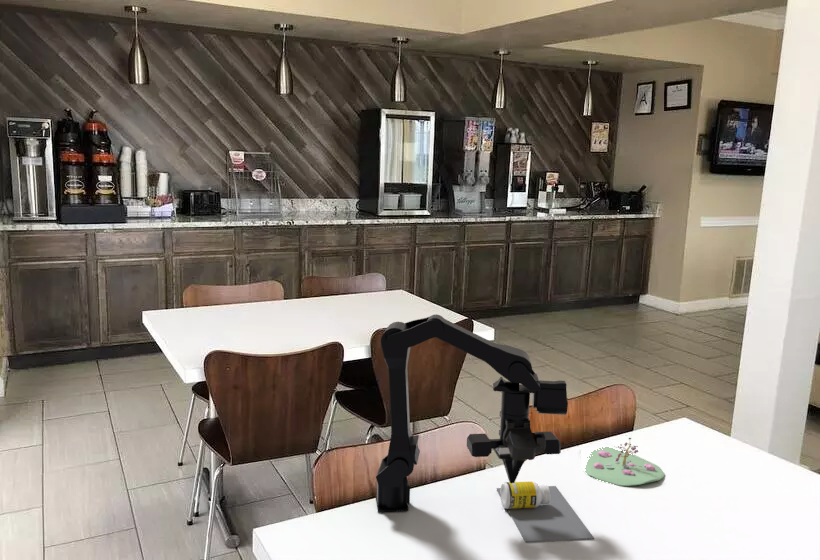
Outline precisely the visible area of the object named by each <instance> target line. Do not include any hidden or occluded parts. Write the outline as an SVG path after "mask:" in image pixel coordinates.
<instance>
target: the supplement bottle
mask: <svg viewBox="0 0 820 560" xmlns="http://www.w3.org/2000/svg"><path fill="white" fill-rule="evenodd" d="M548 486H549V485H548V484H539V485H538V482H536V481H515V482H514V483H510V482H509V481H508V482H507V481H505V482H502V484H500V488H501V490H500V495H501V497H500V501H501V502H500V503H501V505H502V507H503V508H504V509H506V510H507V509H514V508H536V507H538V506H539V504H540V503H541V504H549V502H550V490H549V487H548ZM500 495H499V496H500Z"/></svg>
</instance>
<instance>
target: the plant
mask: <svg viewBox="0 0 820 560" xmlns="http://www.w3.org/2000/svg"><path fill="white" fill-rule="evenodd" d="M628 440H632V437H628ZM627 446H628V447H627ZM625 447H627V448H625ZM617 448H619V449H621V450H622V451H618V450H615V449H613V448H609V447H605V448H603V447H602V449H603V450H602V449H601V448H599V449H600V450H598V449H597V451H596V450H594V451H593V452H591V453H592V454H590V455H591V457H590V456H589V458H590V459H589V460H588V462H587V465H586V468H585V469H586V471H585V472H586V473H587V474H588V475H587V474H586V473H585V472H584V473H585V474H586V475H587V476H589V477H591V476H592V477H593V478H592V477H591V478H592V479H594V478H595V479H594V480H596V479H598V480H597V481H599V480H601V481H600V482H602V481H604V482H603V483H606V482H608V483H607V484H610V483H611V484H610V485H613V484H614V486H619V487H628V486H629V487H630V486H638V485H639V486H640V485H644V484H648V483H653V482H658V481H661V480H662V479H664V477H665V472H664V471H663V469H662V468H661V467H660V466H659V465H657V464H655V463H653V462H651V461H649V460H646V459H645V458H642V457H640V456H638V455H635V454H637V453H639V450H638V449H637V448H638V445H633V446H632V444H631V443H628V442H625V443H624V446H623V444H622V443H621V444H620V446H617ZM622 448H623V449H622ZM630 449H631V450H630ZM623 450H624V451H626V452H625V453H624V452H623ZM629 453H631V454H632V455H631V454H629ZM633 454H634V455H633ZM592 455H593V456H592ZM587 458H588V457H587Z"/></svg>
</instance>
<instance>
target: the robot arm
mask: <svg viewBox="0 0 820 560" xmlns="http://www.w3.org/2000/svg"><path fill="white" fill-rule="evenodd" d="M434 338H436V339H438V340H440V341H442V342H444V343H446V344H449V345H451V346H452V347H454V348H456V349H458V350H460V351H462V352H464V353H466V354H468V355H471V356H473V357H474V358H476V359H479V360H480V361H483V362H484V363H486V364H487V365H488V366H489V367H491V368H492V369H493V370H494V371H495V372H496V373H498V374H499V375H500V377H499V378H498V379H497V380H495V381H494V382H493V383H492V390H493V392H501V401H500V402H501V403H500V405H501V406H500V411H499V417H500V423H499V424H500V426H499V430H498V436H499V438H492V439H491V438H489V437H488V435H487V434H486V433H469V435H468V436H467V437H466V447H467V449H468V451H469V453H470V455H471V457H474V458H482V457H484V458H485V457H489V456H490V455H491V454H492V451H493V452H494V453H495V454H496V456H497V458H498V459H499V460H502V463H503V465H504V469H505V472H506V476H507V478H508V482H510V483H514V482H516V480H517V478H518V476H519V474H520V471H521V469H522V467H523V465H524V464H525V462H526V461H527V460H529V461H532V460H535V458H536V455H537V454H542V453H545V454H546V455H559V454H561V451H562V450H561V448H562V444H561V440H560V439H559V438H558V437H557V436H556V435H555V434H554V433H553V432H552V431H535V432H532V431H533V430H532V428H531V419H530V403H532V409H533V408H534V409H536V412H537V413H538V414H542V415H543V414H545V415H562V416H563V415H564V416H567V414H568V406H569V405H568V404H569V401H568V395H567V394H568V393H567V386H568V385H567V382H566V381H565V380H542V379H541V380H539V377H538V374H537V373H536V372H535V370H534V369H533V366H532V362H531V358H530V355H529V354H528V353H527V352H526V351H525V350H523V349H521V348H519V347H515V346H510V345H507V344H501V343H500V344H499V343H496V342H493V341H490V340H488V339H486V338H484V337H483V336H480V335H478V334H476V333H474V332H472V331H470V330H468V329H467V328H464V327H462V326H460V325H459V324H458V325H457V324H456V323H454V322H453V321H450V320H448V319H446V318H444V317H443V316H442V315H439V314H432V315H430V316H427V317H424V318H418V319H414V320H411V321H410V320H409V321H407V322H403V321H393V322H392V323H390V324H389V325H388V326H387V327H386V329H385V330H384V332H383V334H382V335H381V338H380V346H381V350H382V354H383V355H382V356H383V359H384V362H385V364H386V366H387V370H388V387H389V388H388V389H389V390H388V392H389V408H390V430H391V432H390V433H391V435H390V440H389V445H388V451H387V455H385V456H384V457H383V458H382V459H381V462H380V465H379V466H378V467H379V468H378V470H377V473H376V475H375V479H376V495H375V502H376V509H377V512H378V513H388V512H389V513H390V512H391V513H392V512H407V511H409V504H410V500H411V497H410V496H411V485H410V481H409V480H408V477H409V476H410V475H411V474H412V473H413V471H414V468H415V465H416V466H417V464H418V461H419V457H420V453H421V452H420V451H421V450H420V448H419V438H420V435H419V434H416V435H413V433H412V430H411V424H410V423H411V422H410V400H409V399H410V398H409V397H410V396H409V376H408V375H409V374H408V373H409V372H408V364H409V359H410V354H411V353H410V352H411V347H415V346H418V345H419V344H421V343H422V344H423V343H424V342H426V341H428V340H430V339H434ZM505 379H506V380H505ZM531 394H532V396H531ZM530 396H531V397H532V398H531V397H530ZM530 398H531V399H532V400H531V399H530ZM530 401H531V402H530Z"/></svg>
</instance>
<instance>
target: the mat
mask: <svg viewBox="0 0 820 560" xmlns="http://www.w3.org/2000/svg"><path fill="white" fill-rule="evenodd" d="M548 487H549V490H550V502H549V504H541V503H540V504H539V506H538V507H536V508H514V509H506V510H507V511H508V513H509V515H510V516H511V519H512V521H513V522H514V524H515V526H516V527H517V530H518V531H519V533H520V535H521V537H522V539H523V540H524V542H525V543H544V542H546V543H547V542H561V541H563V542H565V541H581V540H583V541H585V540H594V539H595V537H594V536H593V533H591V531H590V530H589V528H588V527H587V526H586V525H585V523H584V522H583V521H582V520H581V518H580V517H579V515H578V514H577V513H576V511H575V510H574V508H573V507H572V506H571V504H570V503H569V502H568V501H567V499H566V498H565V496H564V495H563V494H562V492H561V491H560V490H559V488H558V487H557V485H550V486H549V485H548ZM496 489H497V490H496V491H497V492H498V493H497V494H498V495H499V497H500V498H501V495H500V490H501V487H496Z"/></svg>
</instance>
